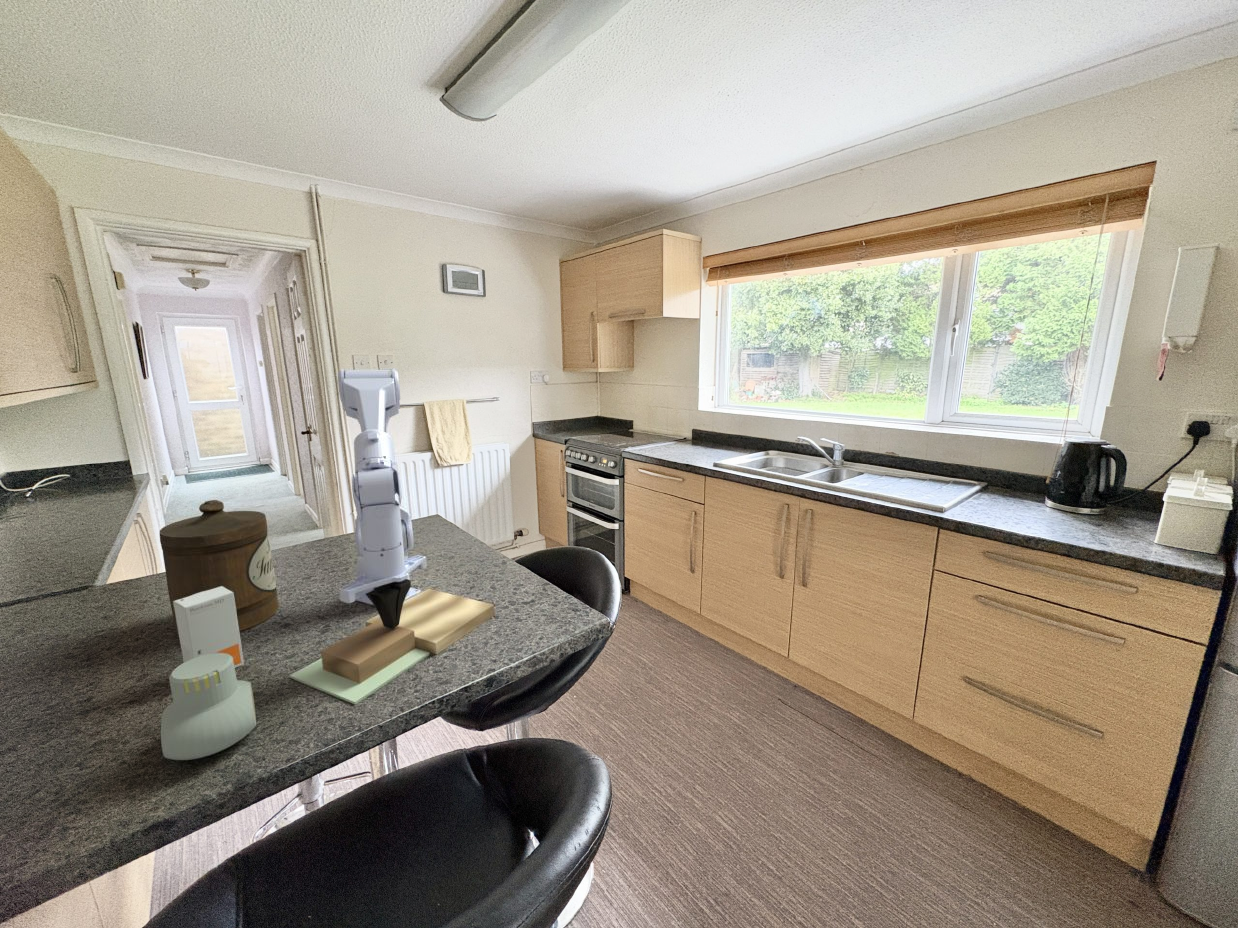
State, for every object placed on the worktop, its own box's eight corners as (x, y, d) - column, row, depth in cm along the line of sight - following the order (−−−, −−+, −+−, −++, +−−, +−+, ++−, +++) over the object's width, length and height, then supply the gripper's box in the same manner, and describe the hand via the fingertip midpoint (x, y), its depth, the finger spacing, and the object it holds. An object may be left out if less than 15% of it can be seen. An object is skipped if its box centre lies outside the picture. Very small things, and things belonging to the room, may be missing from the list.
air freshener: (174, 728, 63) (159, 656, 61) (254, 702, 68) (243, 634, 66) (165, 785, 54) (148, 703, 52) (258, 749, 59) (246, 674, 57)
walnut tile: (323, 669, 74) (320, 651, 73) (380, 636, 83) (378, 620, 82) (360, 683, 71) (357, 664, 70) (415, 647, 80) (414, 630, 79)
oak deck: (366, 632, 85) (365, 621, 85) (429, 598, 98) (428, 588, 97) (436, 654, 78) (435, 642, 78) (494, 614, 91) (494, 604, 90)
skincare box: (197, 685, 71) (182, 608, 69) (185, 676, 73) (171, 600, 71) (246, 664, 76) (234, 591, 74) (234, 656, 78) (221, 584, 76)
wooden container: (289, 616, 91) (272, 499, 86) (182, 650, 80) (157, 519, 76) (268, 592, 101) (251, 486, 96) (170, 619, 90) (147, 501, 86)
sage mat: (290, 677, 73) (289, 675, 73) (368, 634, 84) (367, 632, 84) (355, 704, 67) (355, 702, 67) (429, 654, 78) (429, 652, 78)
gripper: (359, 565, 69) (369, 654, 72) (437, 534, 82) (443, 610, 85) (325, 557, 72) (336, 643, 75) (406, 528, 85) (413, 602, 88)
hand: (391, 625), depth 80 cm, fingers closed
